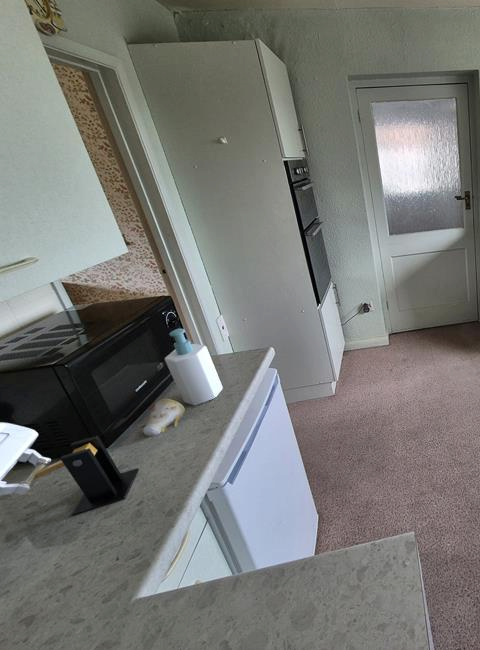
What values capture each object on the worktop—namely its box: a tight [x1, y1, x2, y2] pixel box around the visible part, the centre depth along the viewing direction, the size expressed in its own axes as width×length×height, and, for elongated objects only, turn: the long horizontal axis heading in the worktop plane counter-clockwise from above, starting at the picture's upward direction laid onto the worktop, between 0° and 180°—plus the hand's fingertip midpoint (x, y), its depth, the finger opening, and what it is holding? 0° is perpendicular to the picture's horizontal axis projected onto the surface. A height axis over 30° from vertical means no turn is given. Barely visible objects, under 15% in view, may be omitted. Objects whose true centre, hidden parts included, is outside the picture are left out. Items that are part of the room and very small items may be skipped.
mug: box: [142, 398, 186, 437], centre depth 103 cm, size 8×10×10 cm
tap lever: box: [25, 443, 98, 488], centre depth 78 cm, size 11×6×2 cm, turn 112°
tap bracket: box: [60, 435, 140, 517], centre depth 81 cm, size 9×9×14 cm
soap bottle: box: [164, 328, 224, 406], centre depth 111 cm, size 10×9×22 cm
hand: (39, 476), depth 77 cm, fingers closed on tap lever, 5 cm apart
